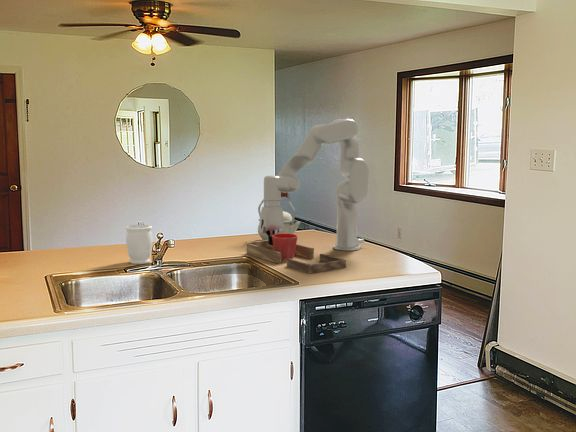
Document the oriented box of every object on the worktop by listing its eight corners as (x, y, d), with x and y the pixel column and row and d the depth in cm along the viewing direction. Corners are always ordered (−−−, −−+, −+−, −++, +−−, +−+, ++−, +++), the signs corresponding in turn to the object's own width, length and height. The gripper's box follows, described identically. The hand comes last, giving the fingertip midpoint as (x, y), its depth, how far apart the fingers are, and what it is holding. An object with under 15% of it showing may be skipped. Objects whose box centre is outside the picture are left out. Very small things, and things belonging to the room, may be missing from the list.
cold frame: (279, 249, 274) (279, 238, 274) (313, 258, 255) (313, 246, 254) (246, 253, 263) (246, 242, 263) (279, 263, 244) (279, 251, 243)
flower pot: (294, 260, 250) (295, 238, 248) (269, 259, 252) (269, 236, 251) (299, 255, 260) (299, 233, 259) (275, 254, 262) (275, 232, 261)
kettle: (247, 241, 293) (247, 191, 289) (269, 236, 308) (269, 188, 304) (289, 247, 279) (289, 194, 275) (310, 241, 294) (310, 191, 290)
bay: (321, 260, 250) (321, 253, 250) (346, 267, 238) (346, 260, 238) (286, 266, 239) (286, 258, 239) (310, 273, 227) (310, 265, 227)
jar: (157, 260, 247) (157, 225, 245) (144, 265, 238) (143, 229, 235) (135, 258, 251) (134, 223, 249) (121, 263, 241) (120, 227, 239)
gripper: (281, 201, 268) (280, 241, 270) (253, 204, 259) (253, 245, 262) (290, 203, 262) (290, 244, 264) (262, 205, 253) (262, 248, 256)
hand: (272, 244), depth 263 cm, fingers closed
